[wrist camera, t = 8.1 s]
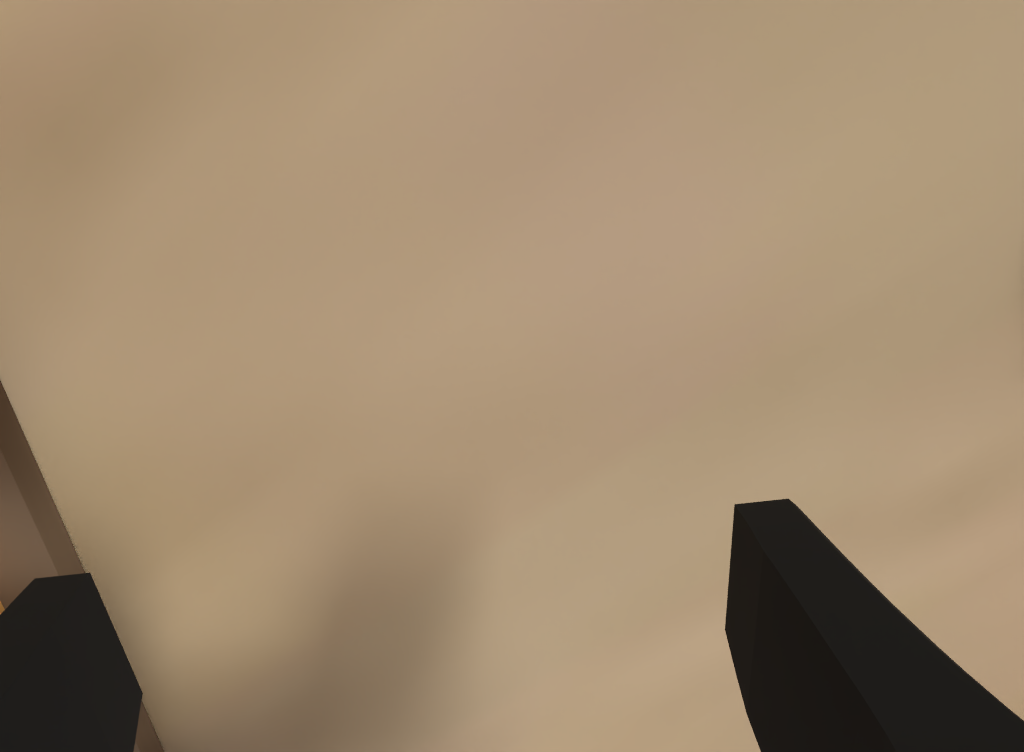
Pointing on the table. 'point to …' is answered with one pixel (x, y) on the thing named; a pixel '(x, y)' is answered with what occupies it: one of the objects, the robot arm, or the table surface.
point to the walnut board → (36, 533)
